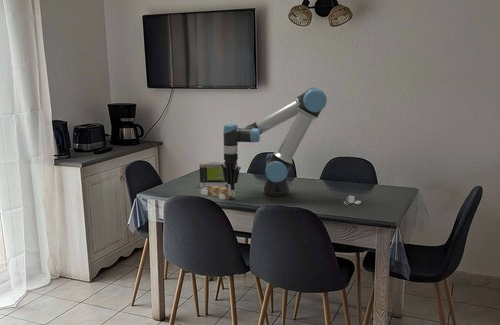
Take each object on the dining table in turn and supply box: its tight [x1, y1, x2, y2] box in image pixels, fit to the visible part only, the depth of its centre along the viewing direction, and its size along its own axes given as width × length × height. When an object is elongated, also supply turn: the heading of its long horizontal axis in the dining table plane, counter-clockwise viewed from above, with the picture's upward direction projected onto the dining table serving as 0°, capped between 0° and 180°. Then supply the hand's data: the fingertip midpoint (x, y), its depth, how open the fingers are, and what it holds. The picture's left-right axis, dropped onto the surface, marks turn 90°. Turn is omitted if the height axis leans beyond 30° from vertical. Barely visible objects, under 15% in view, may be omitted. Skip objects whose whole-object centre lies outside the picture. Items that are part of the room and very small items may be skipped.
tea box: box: [199, 161, 228, 189], centre depth 298 cm, size 15×10×15 cm, turn 84°
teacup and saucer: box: [343, 195, 362, 205], centre depth 261 cm, size 9×8×4 cm
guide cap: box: [218, 191, 236, 201], centre depth 273 cm, size 4×8×2 cm, turn 137°
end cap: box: [199, 187, 208, 196], centre depth 283 cm, size 6×8×2 cm
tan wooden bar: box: [207, 185, 234, 200], centre depth 276 cm, size 16×4×5 cm, turn 47°
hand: (231, 195), depth 271 cm, fingers closed
